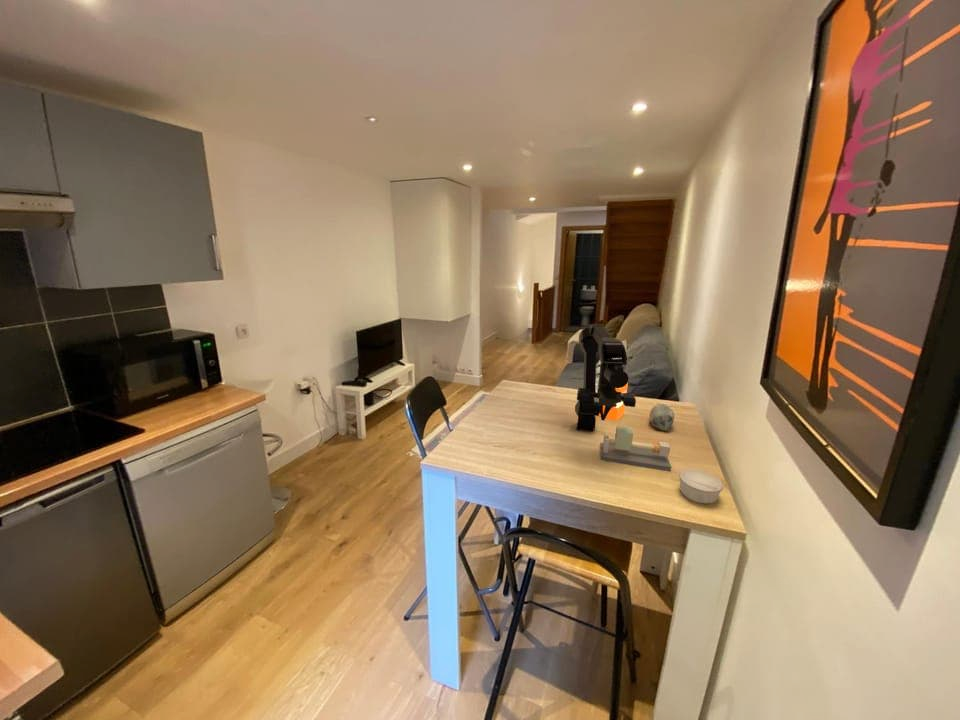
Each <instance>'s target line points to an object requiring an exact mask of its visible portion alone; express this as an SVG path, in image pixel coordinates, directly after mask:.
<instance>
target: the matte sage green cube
mask: <svg viewBox="0 0 960 720" xmlns="http://www.w3.org/2000/svg"><path fill="white" fill-rule="evenodd" d="M633 437H634V431H633V427H629V426H621V425H616V428H615V435H614V439H616V444H615V449H621V450H628V451H631V446H632V442H633Z"/></svg>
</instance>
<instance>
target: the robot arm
mask: <svg viewBox="0 0 960 720" xmlns="http://www.w3.org/2000/svg"><path fill="white" fill-rule="evenodd" d="M578 342H579V346H580V349H581V351H582V352H583V387H578V388H577V393H576V401H577V402H576V404H575V405H574V411H575V413H576V416H577V422H576V430H579V431H582V432H583V431H584V432H585V431H586V432H591V433H592V432H594V429H596V424H597V423H596V421H597V417H600V418H601V421H605V420H606V419H607V418H606V416H607V414H608V412H609V411H610V409H611V408H612V407H616V406H617V404H616V403H621V402H623V404H624V405H625V407H628V408H635V407H636V403H637V399H636V395H635V394H634V393H630V392H627V393H622V392H617V391H616V388H622V387H624V386H625V385H626V384H627V383H628V384H629V375H628V373H627V372H626V371H624V366H627V361H628V355H627V350H626V347H625V345H624V343H623V342H622V341H621V340H620V339H617V338H614V337H612V336H611V334H610V333H609V332H608V331H607V330H606V327H605V325H604V324H602V323H601V324H597V323H592V324H589V326H588V327H586V328H584V329H582V330H581V332H580V333H579V336H578ZM597 354H598V357H599V361H600V366H599V375H598V383H597V382H596V381H597V380H596V379H597V378H596V377H597V376H596V375H597ZM596 383H597V391H596ZM603 406H605V409H604V414H603ZM599 413H600V415H601V416H599Z"/></svg>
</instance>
